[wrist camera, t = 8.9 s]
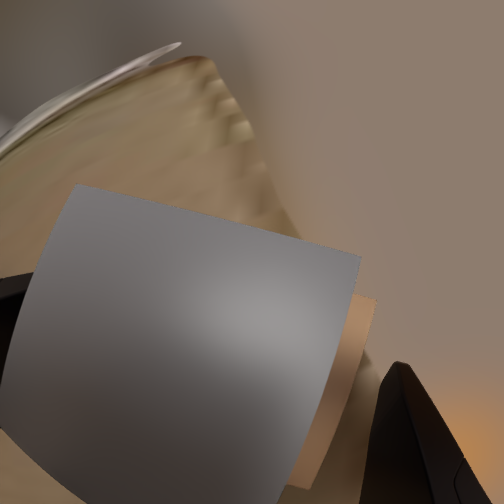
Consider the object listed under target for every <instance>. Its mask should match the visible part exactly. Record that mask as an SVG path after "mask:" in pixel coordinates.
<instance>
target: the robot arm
mask: <svg viewBox="0 0 504 504" xmlns="http://www.w3.org/2000/svg"><path fill="white" fill-rule="evenodd" d="M33 273H34V272H32V273H27V274H21V275H16V276H11V277H6V278H4V279H3V278H1V279H0V386H1V381H2V376H3V371H4V367H5V362H6V358H7V354H8V350H9V346H10V343H11V339H12V335H13V332H14V328H15V325H16V322H17V319H18V315H19V312H20V309H21V306H22V303H23V300H24V298H25V295H26V292H27V289H28V286H29V284H30V281H31V278H32V276H33ZM0 428H1V427H0ZM359 504H492V503H491V501H490V499H489V498H488V496H487V495H486V493H485V491H484V490H483V488H482V486H481V485H480V484H479V482H478V480H477V478H476V476H475V474H474V473H473V471H472V469H471V467H470V465H469V464H468V462H467V460H466V458H464V455H463V453H462V451H461V449H460V448H459V446H458V444H457V442H456V440H455V439H454V437H453V435H452V433H451V432H450V430H449V428H448V426H447V425H446V423H445V422H444V420H443V418H442V416H441V415H440V413H439V411H438V410H437V408H436V406H435V405H434V403H433V401H432V400H431V398H430V397H429V395H428V393H427V392H426V390H425V389H424V387H423V385H422V384H421V382H420V381H419V379H418V378H417V376H416V375H415V373H414V371H413V370H412V368H411V367H410V365H408V364H407V363H403V362H399V361H396V362H394V363H393V364H392V366H391V368H390V369H389V371H388V373H387V374H386V376H385V377H384V379H383V381H382V383H381V385H380V389H379V394H378V399H377V404H376V409H375V414H374V418H373V423H372V427H371V432H370V437H369V445H368V452H367V459H366V466H365V473H364V479H363V484H362V490H361V495H360V501H359Z"/></svg>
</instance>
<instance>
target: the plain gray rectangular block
mask: <svg viewBox="0 0 504 504" xmlns="http://www.w3.org/2000/svg"><path fill="white" fill-rule="evenodd" d="M360 262H361V256H357V255H354V254H350V253H347V252H343V251H340V250H336V249H333V248H329V247H325V246H321V245H318V244H314V243H311V242H307V241H304V240H300V239H297V238H293V237H289V236H286V235H282V234H278V233H274V232H271V231H267V230H263V229H259V228H256V227H252V226H248V225H244V224H240V223H237V222H233V221H229V220H225V219H221V218H217V217H213V216H209V215H205V214H201V213H198V212H194V211H190V210H186V209H182V208H178V207H173V206H169V205H165V204H161V203H157V202H153V201H149V200H145V199H141V198H136V197H132V196H128V195H124V194H120V193H115V192H111V191H107V190H102V189H98V188H94V187H89V186H85V185H80V184H76V185H75V187H74V189H73V191H72V192H71V194H70V196H69V198H68V200H67V202H66V204H65V206H64V207H63V209H62V211H61V213H60V215H59V217H58V219H57V221H56V223H55V225H54V228H53V230H52V232H51V234H50V236H49V238H48V240H47V243H46V245H45V247H44V249H43V252H42V254H41V256H40V259H39V261H38V263H37V266H36V268H35V271H34V273H33V276H32V278H31V281H30V284H29V286H28V289H27V292H26V295H25V298H24V300H23V303H22V306H21V309H20V312H19V315H18V319H17V322H16V325H15V328H14V332H13V335H12V339H11V343H10V346H9V350H8V354H7V358H6V362H5V367H4V371H3V376H2V381H1V386H0V427H1V428H2V430H3V431H4V432H5V433H6V434H7V435H8V436H9V437H10V438H11V439H12V440H13V441H14V442H15V443H16V444H17V445H18V446H19V447H20V448H21V449H22V450H23V451H24V452H25V453H26V454H27V455H28V456H29V457H30V458H31V459H32V460H33V461H34V462H36V463H37V464H38V465H39V466H40V467H41V468H42V469H43V470H45V471H46V472H47V473H48V474H49V475H50V476H52V477H53V478H54V479H55V480H56V481H58V482H59V483H60V484H61V485H63V486H64V487H65V488H66V489H68V490H69V491H70V492H72V493H73V494H74V495H76V496H77V497H78V498H80V499H81V500H83V501H84V502H85V503H87V504H277V502H278V500H279V498H280V496H281V494H282V492H283V489H284V487H285V485H286V483H287V481H288V479H289V476H290V474H291V472H292V470H293V467H294V465H295V463H296V461H297V458H298V456H299V453H300V451H301V449H302V446H303V444H304V441H305V439H306V436H307V434H308V431H309V429H310V426H311V424H312V421H313V418H314V416H315V413H316V410H317V408H318V405H319V402H320V399H321V397H322V394H323V391H324V388H325V385H326V382H327V379H328V376H329V373H330V370H331V367H332V364H333V361H334V358H335V355H336V351H337V348H338V345H339V342H340V338H341V335H342V331H343V328H344V324H345V321H346V317H347V314H348V310H349V306H350V302H351V299H352V295H353V291H354V287H355V283H356V279H357V275H358V270H359V266H360Z"/></svg>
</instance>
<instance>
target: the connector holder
mask: <svg viewBox="0 0 504 504" xmlns="http://www.w3.org/2000/svg"><path fill="white" fill-rule="evenodd" d="M376 302H377V300H374V299H371V298H367V297H364V296H361V295H357V294H353V295H352V299H351V302H350V306H349V310H348V314H347V317H346V321H345V324H344V328H343V331H342V335H341V338H340V342H339V345H338V348H337V351H336V355H335V358H334V361H333V364H332V367H331V370H330V373H329V376H328V379H327V382H326V385H325V388H324V391H323V394H322V397H321V399H320V402H319V405H318V408H317V410H316V413H315V416H314V418H313V421H312V424H311V426H310V429H309V431H308V434H307V436H306V439H305V441H304V444H303V446H302V449H301V451H300V453H299V456H298V458H297V461H296V463H295V465H294V467H293V470H292V472H291V474H290V476H289V479H288V481H287V483H286V484H288V485H292V486H296V487H300V488H304V489H308V490H310V488H311V486H312V484H313V482H314V480H315V478H316V475H317V473H318V471H319V469H320V467H321V464H322V462H323V460H324V458H325V455H326V453H327V451H328V448H329V446H330V444H331V441H332V439H333V436H334V434H335V431H336V429H337V426H338V424H339V421H340V419H341V416H342V413H343V411H344V408H345V405H346V402H347V400H348V397H349V394H350V391H351V388H352V385H353V382H354V379H355V376H356V373H357V370H358V367H359V364H360V360H361V357H362V354H363V351H364V347H365V344H366V340H367V337H368V333H369V329H370V326H371V322H372V318H373V314H374V310H375V306H376Z"/></svg>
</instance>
